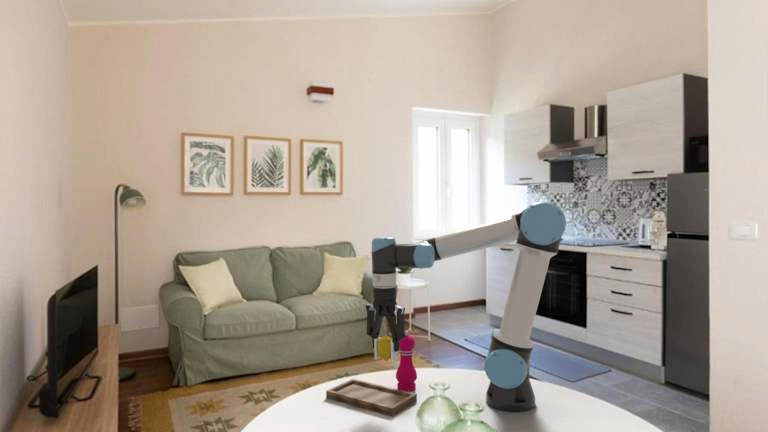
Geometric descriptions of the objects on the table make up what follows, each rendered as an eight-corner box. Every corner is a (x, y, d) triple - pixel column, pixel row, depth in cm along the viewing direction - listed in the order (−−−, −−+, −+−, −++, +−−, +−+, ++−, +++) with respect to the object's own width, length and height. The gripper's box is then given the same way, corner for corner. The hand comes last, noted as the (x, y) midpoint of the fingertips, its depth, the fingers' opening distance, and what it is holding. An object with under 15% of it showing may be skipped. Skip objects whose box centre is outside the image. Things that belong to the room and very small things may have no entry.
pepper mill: (417, 392, 171) (417, 333, 171) (395, 392, 171) (395, 333, 171) (416, 385, 178) (416, 328, 178) (395, 385, 178) (395, 328, 178)
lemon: (382, 364, 157) (382, 338, 157) (374, 359, 162) (374, 334, 161) (398, 361, 159) (397, 336, 159) (389, 357, 164) (389, 332, 164)
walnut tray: (416, 401, 163) (416, 394, 163) (392, 416, 152) (392, 408, 151) (353, 385, 178) (352, 378, 178) (326, 398, 166) (326, 390, 166)
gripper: (353, 286, 162) (355, 358, 163) (403, 290, 152) (404, 367, 152) (367, 283, 168) (369, 352, 169) (416, 286, 158) (417, 361, 158)
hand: (386, 359), depth 160 cm, fingers closed on lemon, 5 cm apart
